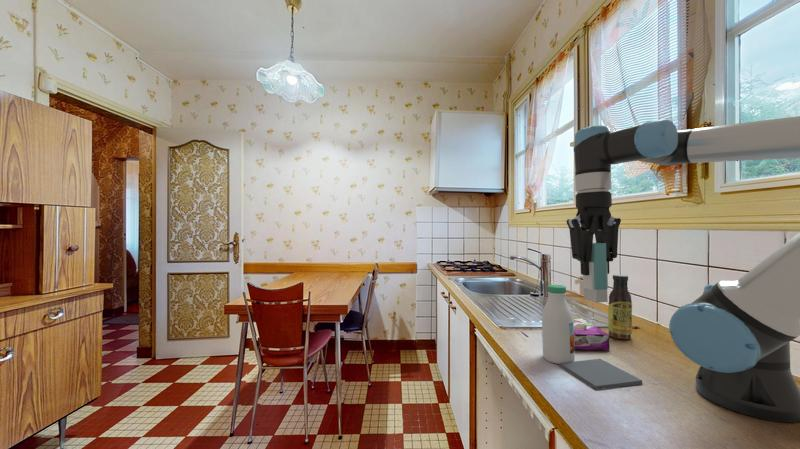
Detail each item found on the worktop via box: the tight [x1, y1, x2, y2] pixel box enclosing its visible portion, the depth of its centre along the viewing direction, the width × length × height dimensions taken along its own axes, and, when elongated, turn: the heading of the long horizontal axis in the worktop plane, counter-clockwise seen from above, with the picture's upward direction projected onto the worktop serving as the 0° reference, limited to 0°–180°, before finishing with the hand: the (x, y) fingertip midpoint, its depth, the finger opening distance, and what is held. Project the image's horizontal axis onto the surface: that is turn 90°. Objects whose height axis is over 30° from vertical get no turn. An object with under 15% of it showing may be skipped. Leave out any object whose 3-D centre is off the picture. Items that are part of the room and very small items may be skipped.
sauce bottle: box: [607, 273, 633, 340], centre depth 101 cm, size 7×6×20 cm
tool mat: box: [559, 358, 643, 390], centre depth 76 cm, size 12×12×1 cm
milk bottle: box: [541, 284, 576, 365], centre depth 86 cm, size 8×8×20 cm
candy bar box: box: [573, 317, 611, 352], centre depth 98 cm, size 11×5×16 cm
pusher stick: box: [583, 241, 609, 303], centre depth 77 cm, size 4×3×14 cm
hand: (595, 287), depth 77 cm, fingers closed on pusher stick, 3 cm apart
